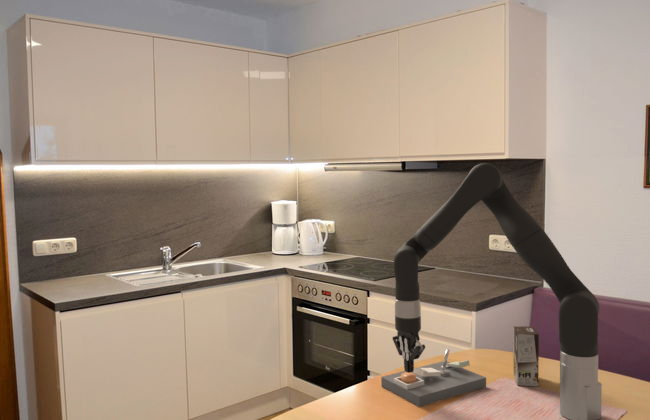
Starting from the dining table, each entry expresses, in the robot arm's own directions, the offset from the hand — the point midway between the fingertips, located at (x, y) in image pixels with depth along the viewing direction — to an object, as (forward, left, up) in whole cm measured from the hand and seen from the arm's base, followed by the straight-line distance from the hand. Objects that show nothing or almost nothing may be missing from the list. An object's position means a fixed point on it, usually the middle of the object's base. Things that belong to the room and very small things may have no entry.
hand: (408, 371), depth 164 cm
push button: (0, 0, -3) cm, 3 cm away
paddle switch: (0, -20, -2) cm, 20 cm away
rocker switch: (0, -7, -2) cm, 7 cm away
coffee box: (-12, -36, -7) cm, 39 cm away
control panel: (0, -9, -7) cm, 12 cm away
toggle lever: (0, -13, -2) cm, 14 cm away
